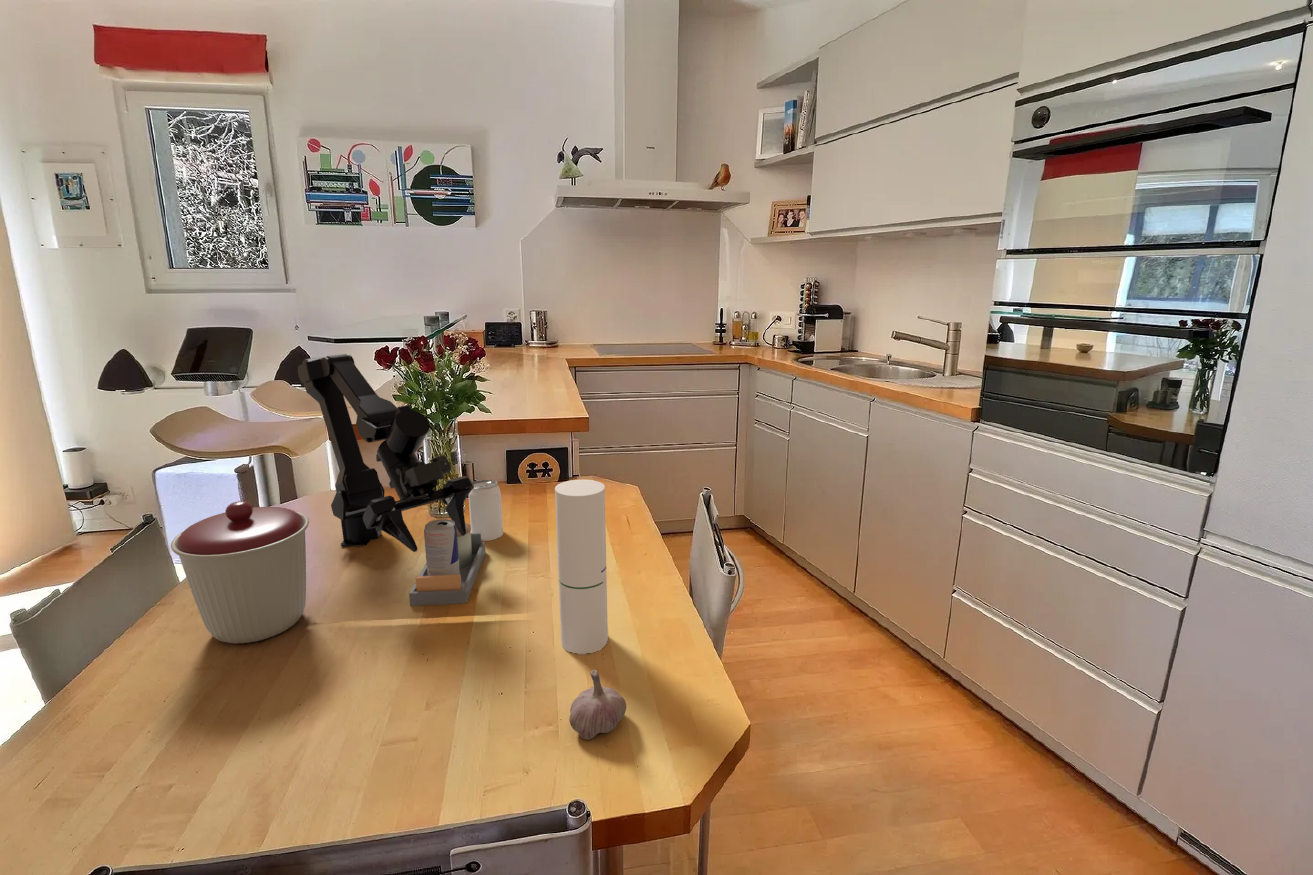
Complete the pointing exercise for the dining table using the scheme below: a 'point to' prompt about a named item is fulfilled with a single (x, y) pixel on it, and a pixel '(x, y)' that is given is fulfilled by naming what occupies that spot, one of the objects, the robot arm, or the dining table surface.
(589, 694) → the garlic bulb
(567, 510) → the cylindrical container
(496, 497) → the can
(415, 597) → the grey rectangular tray
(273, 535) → the canister
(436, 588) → the bar
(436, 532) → the energy drink
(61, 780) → the dining table surface
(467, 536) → the sage jar
